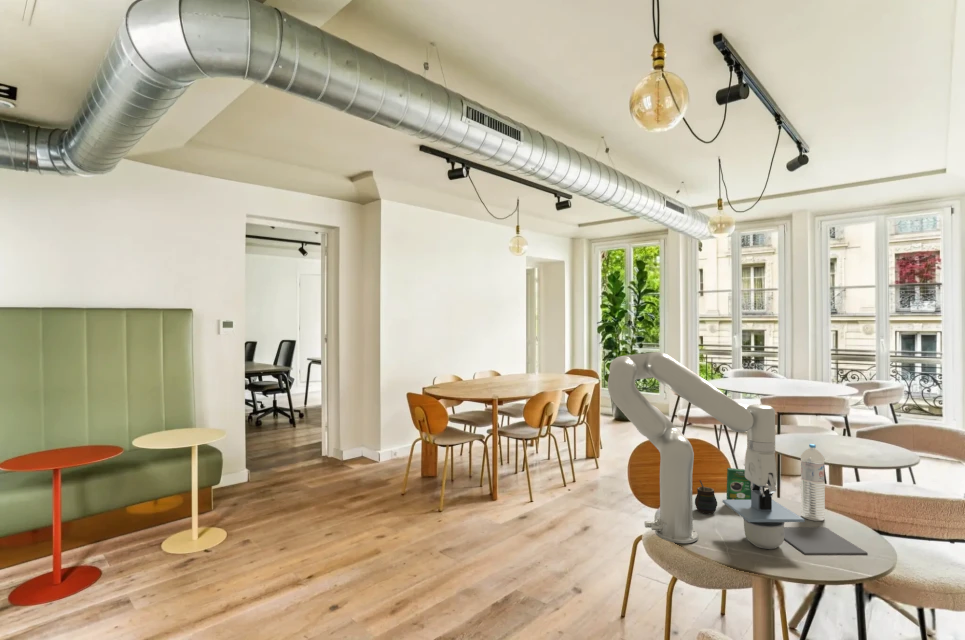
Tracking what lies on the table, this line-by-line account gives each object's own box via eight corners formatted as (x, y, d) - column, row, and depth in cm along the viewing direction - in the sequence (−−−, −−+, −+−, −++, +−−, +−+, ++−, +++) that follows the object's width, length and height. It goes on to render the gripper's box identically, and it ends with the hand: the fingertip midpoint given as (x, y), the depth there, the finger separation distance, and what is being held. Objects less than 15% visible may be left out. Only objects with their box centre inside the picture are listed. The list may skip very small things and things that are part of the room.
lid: (748, 522, 144) (748, 501, 144) (722, 502, 160) (722, 483, 160) (804, 522, 144) (804, 501, 144) (772, 502, 160) (772, 484, 160)
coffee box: (750, 504, 183) (750, 468, 183) (752, 507, 180) (752, 471, 181) (726, 502, 185) (726, 467, 185) (728, 505, 183) (727, 469, 183)
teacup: (790, 554, 144) (790, 526, 144) (749, 551, 146) (749, 523, 146) (772, 534, 158) (772, 509, 158) (735, 531, 160) (735, 506, 160)
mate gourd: (703, 516, 172) (703, 487, 172) (689, 508, 180) (689, 480, 180) (721, 514, 174) (721, 485, 174) (707, 507, 181) (706, 479, 182)
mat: (804, 554, 144) (804, 552, 144) (769, 528, 162) (769, 527, 162) (867, 554, 144) (867, 552, 144) (824, 528, 162) (824, 527, 162)
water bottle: (814, 522, 167) (813, 447, 167) (796, 515, 173) (795, 443, 173) (829, 520, 168) (829, 446, 169) (811, 513, 175) (811, 441, 175)
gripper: (734, 439, 160) (735, 496, 160) (764, 453, 144) (764, 517, 144) (758, 439, 160) (758, 496, 160) (790, 453, 144) (790, 517, 144)
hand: (761, 505), depth 152 cm, fingers closed on lid, 4 cm apart
